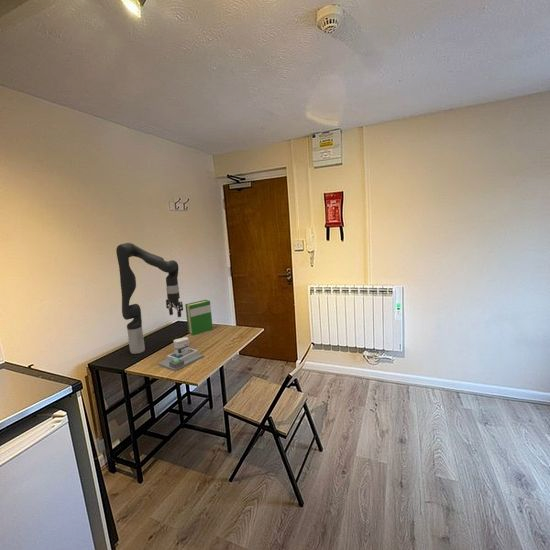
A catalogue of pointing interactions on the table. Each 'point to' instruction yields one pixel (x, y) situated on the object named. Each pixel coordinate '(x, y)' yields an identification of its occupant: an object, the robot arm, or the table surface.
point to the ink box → (181, 347)
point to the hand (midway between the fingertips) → (175, 315)
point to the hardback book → (199, 317)
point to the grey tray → (180, 360)
